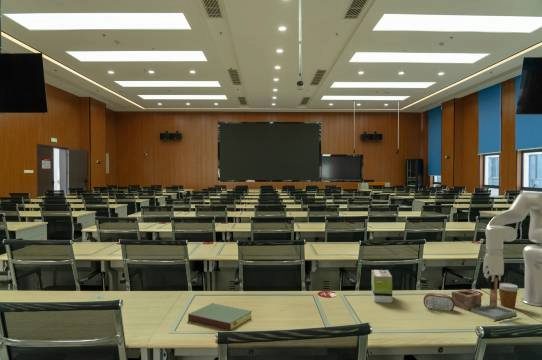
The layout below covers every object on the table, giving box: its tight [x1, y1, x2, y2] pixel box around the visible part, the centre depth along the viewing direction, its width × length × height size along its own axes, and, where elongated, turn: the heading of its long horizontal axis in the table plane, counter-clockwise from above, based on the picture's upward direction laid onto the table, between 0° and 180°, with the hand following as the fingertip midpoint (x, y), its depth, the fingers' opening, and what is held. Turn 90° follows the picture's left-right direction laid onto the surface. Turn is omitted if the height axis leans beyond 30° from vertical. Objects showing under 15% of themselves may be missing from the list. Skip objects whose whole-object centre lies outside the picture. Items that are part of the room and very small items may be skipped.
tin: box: [423, 292, 456, 312], centre depth 211 cm, size 15×3×8 cm, turn 65°
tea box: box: [371, 269, 393, 304], centre depth 231 cm, size 15×10×15 cm, turn 172°
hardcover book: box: [187, 302, 253, 331], centre depth 197 cm, size 25×19×4 cm
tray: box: [470, 304, 517, 323], centre depth 205 cm, size 16×13×2 cm
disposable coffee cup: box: [498, 282, 519, 310], centre depth 216 cm, size 10×10×12 cm
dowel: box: [489, 277, 498, 307], centre depth 204 cm, size 3×3×14 cm
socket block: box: [451, 289, 482, 312], centre depth 215 cm, size 10×10×8 cm
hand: (493, 288), depth 204 cm, fingers closed on dowel, 3 cm apart
